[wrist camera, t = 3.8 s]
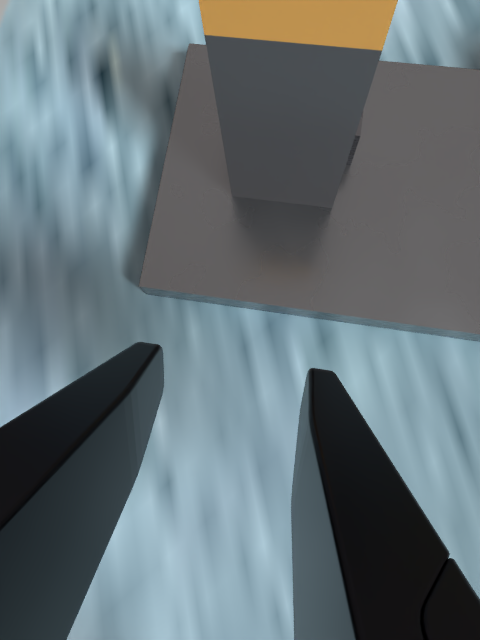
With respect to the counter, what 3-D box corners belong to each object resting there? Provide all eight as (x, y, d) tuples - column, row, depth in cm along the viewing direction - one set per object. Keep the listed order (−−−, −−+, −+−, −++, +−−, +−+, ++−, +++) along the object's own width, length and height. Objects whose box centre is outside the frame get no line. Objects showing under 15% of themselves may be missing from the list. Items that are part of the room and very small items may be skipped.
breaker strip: (719, 375, 17) (850, 365, 13) (146, 294, 19) (116, 264, 15) (709, 110, 19) (820, 35, 15) (193, 62, 21) (177, -16, 17)
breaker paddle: (332, 208, 18) (403, -17, 8) (232, 196, 18) (193, -32, 9) (337, 171, 18) (410, -86, 9) (238, 159, 19) (207, -98, 9)
